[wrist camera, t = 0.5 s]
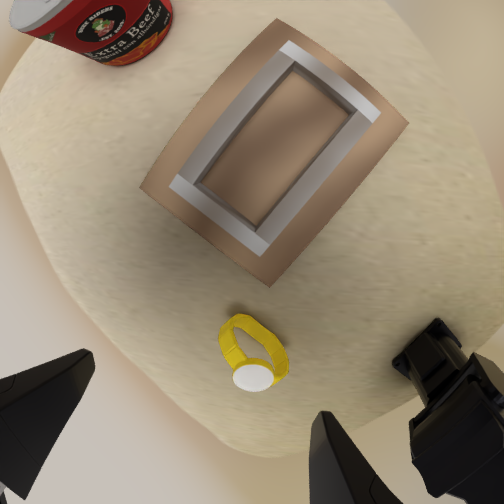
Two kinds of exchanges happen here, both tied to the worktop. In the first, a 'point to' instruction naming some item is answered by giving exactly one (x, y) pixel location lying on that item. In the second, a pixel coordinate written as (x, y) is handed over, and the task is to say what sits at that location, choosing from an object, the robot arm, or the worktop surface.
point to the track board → (273, 150)
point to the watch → (253, 369)
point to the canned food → (96, 26)
